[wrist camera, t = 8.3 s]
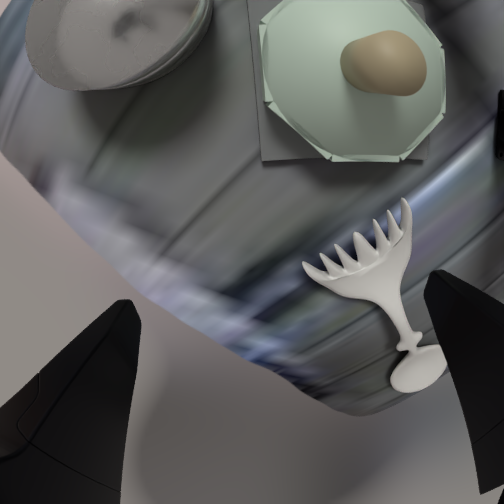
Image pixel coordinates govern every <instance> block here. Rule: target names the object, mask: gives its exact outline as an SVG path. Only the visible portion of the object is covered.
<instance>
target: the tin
mask: <svg viewBox="0 0 504 504" xmlns="http://www.w3.org/2000/svg"><path fill="white" fill-rule="evenodd" d="M212 12H213V0H34V2H33V5H32V7H31V10H30V13H29V16H28V20H27V25H26V34H25V42H26V50H27V55H28V58H29V61H30V63H31V65H32V67H33V68H34V70H35V72H36V73H37V74H38V75H39V76H40V77H41V78H42V79H43V80H44V81H46V82H47V83H49V84H51V85H53V86H54V87H57V88H61V89H64V90H71V91H85V90H105V89H118V88H126V87H133V86H138V85H142V84H145V83H149V82H151V81H154V80H156V79H158V78H160V77H162V76H164V75H166V74H168V73H169V72H171V71H172V70H174V69H175V68H177V67H178V66H179V65H180V64H181V63H183V62H184V61H185V60H186V59H187V58H188V57H189V56H190V55H191V54H192V53H193V52H194V51H195V49H196V48H197V47H198V45H199V44H200V43H201V41H202V39H203V38H204V36H205V34H206V32H207V30H208V28H209V25H210V22H211V18H212Z"/></svg>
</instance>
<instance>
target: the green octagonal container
mask: <svg viewBox="0 0 504 504" xmlns="http://www.w3.org/2000/svg"><path fill="white" fill-rule="evenodd" d="M257 41H258V51H259V62H260V73H261V85H262V97H263V101H265V102H267V103H266V104H265V105H266V106H267V107H268V108H270V109H271V110H272V111H273V112H274V113H276V114H277V115H278V116H279V117H280V118H281V119H283V120H284V121H285V122H286V123H287V124H288V125H290V126H291V127H292V128H293V129H294V130H295V131H296V132H297V133H299V134H300V135H301V136H302V137H303V138H304V139H305V140H306V141H307V142H308V143H310V144H311V145H312V146H313V147H314V148H315V149H316V150H317V151H318V152H319V153H320V154H321V155H323V156H324V157H325V158H326V159H327V160H328V159H330V160H331V161H332V162H346V161H371V162H399V159H401V160H404V159H405V158H406V157H407V156H408V155H409V154H410V153H411V152H412V151H413V150H414V149H415V147H416V146H417V145H418V144H419V143H420V142H421V141H422V140H423V139H424V138H425V137H426V136H427V135H428V134H429V133H430V132H431V131H432V129H433V128H434V127H435V126H436V125H437V124H438V123H439V122H440V121H441V120H442V119H443V118H444V117H443V115H442V113H445V105H446V81H445V58H444V49H441V48H440V47H441V46H442V44H441V43H440V41H439V40H438V39H437V37H436V36H435V35H434V33H433V32H432V31H431V30H430V28H429V27H428V26H427V25H426V23H425V22H424V21H423V20H422V19H421V17H420V16H419V15H418V14H417V13H416V12H415V10H414V9H413V8H412V7H411V6H410V5H409V4H408V3H407V2H406V0H283V1H282V2H280V3H279V4H278V5H277V6H276V7H275V8H273V9H272V10H271V11H270V12H269V13H268V14H267V15H266V16H265V17H263V18H262V19H261V20H260V24H259V26H258V29H257Z"/></svg>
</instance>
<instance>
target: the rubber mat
mask: <svg viewBox="0 0 504 504" xmlns="http://www.w3.org/2000/svg"><path fill="white" fill-rule="evenodd" d="M282 1H283V0H247V7H248V17H249V27H250V37H251V47H252V58H253V68H254V79H255V91H256V102H257V114H258V126H259V139H260V152H261V160H262V161H270V160H285V159H305V158H325V157H324V156H323V155H321V154H320V153H319V152H318V151H317V150H316V149H315V148H314V147H313V146H312V145H311V144H310V143H308V142H307V141H306V140H305V139H304V138H303V137H302V136H301V135H300V134H299V133H297V132H296V131H295V130H294V129H293V128H292V127H291V126H290V125H288V124H287V123H286V122H285V121H284V120H283V119H281V118H280V117H279V116H278V115H277V114H276V113H274V112H273V111H272V110H271V109H270V108H268V107H267V106H266V105H265V104H266V103H267V102H265V101H263V97H262V85H261V73H260V62H259V51H258V41H257V29H258V26H259V24H260V20H261V19H262V18H263V17H265V16H266V15H267V14H268V13H269V12H270V11H271V10H272V9H273V8H275V7H276V6H277V5H278V4H279V3H280V2H282ZM406 2H407V3H408V4H409V5H410V6H411V7H412V8H413V9H414V10H415V12H416V13H417V14H418V15H419V16H420V17H421V19H422V20H423V21H424V22H425V23H426V21H425V14H424V8H423V5H421V4H418V3H415V2H412V1H409V0H406ZM428 143H429V134H428V135H427V136H426V137H425V138H424V139H423V140H422V141H421V142H420V143H419V144H418V145H417V146H416V147H415V149H414V150H413V151H412V152H411V153H410V154H409V155H408V156H407V157H406V158H405V159H421V160H427V155H428Z"/></svg>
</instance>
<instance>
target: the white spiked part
mask: <svg viewBox="0 0 504 504" xmlns="http://www.w3.org/2000/svg"><path fill="white" fill-rule="evenodd" d="M372 222H373V228H374V233H375V238H376V249H374V248H373V247H372V246H371V245H370V244H369V243H368V241H367V240H366V239H365V238H364V237H363V236H362V235H361V234H360V233H358V232H354V233H353V242H354V246H355V249H356V253H357V257H358V261H356V260H353V259H352V258H351V257H350V256H349V255H348V254H347V253H346V252H345V251H344V250H343V249H342V248H341V247H340V246H338V245H337V244H334V247H335V250H336V252H337V254H338V256H339V258H340V260H341V262H342V264H343V266H339V265H338V264H336V263H334V262H333V261H332V260H330V259H329V258H328V257H327V256H325V255H324V254H322V253H320V257H321V259H322V261H323V263H324V264H325V266H326V268H327V270H328V271H321V270H319V269H317V268H315V267H313V266H312V265H310V264H308V263H306V262H302V265H303V268H304V270H305V271H306V273H307V274H308V275H309V276H310V277H311V278H312V279H313V280H315V281H316V282H318V283H319V284H321V285H323V286H325V287H327V288H328V289H330V290H332V291H333V292H335V293H337V294H339V295H341V296H344V297H348V298H357V299H365V300H369V301H372V302H375V303H376V304H378V305H379V306H380V307H381V308H383V310H384V311H385V312H386V313H387V314H388V316H389V317H390V318H391V320H392V321H393V323H394V325H395V326H396V328H397V330H398V332H399V334H400V341H399V343H398V344H397V346H396V348H397V350H398V351H404V350H409V352H408V354H407V355H406V356H405V357H404V358H403V359H402V360H401V362H400V363H399V364H398V365H397V366H396V368H395V369H394V371H393V372H392V375H391V378H390V382H391V385H392V387H393V388H394V389H395V390H397V391H399V392H406V393H410V392H415V391H419V390H422V389H424V388H426V387H428V386H429V385H431V384H432V383H433V382H435V381H436V380H437V379H438V378H439V377H440V376H441V374H442V373H443V371H444V370H445V368H446V366H447V362H446V359H445V357H444V354H443V352H442V349H441V347H440V345H438V344H434V345H427V346H422V347H416V345H417V343H418V342H419V341H420V340H421V338H422V332H420V331H418V332H414V331H412V329H411V327H410V325H409V323H408V320H407V318H406V315H405V312H404V309H403V305H402V302H401V297H400V284H401V279H402V276H403V274H404V271H405V269H406V266H407V264H408V261H409V259H410V256H411V250H412V213H411V209H410V206H409V204H408V203H407V201H406V200H405V199H404V198H401V222H400V224H399V226H398V225H397V223H396V221H395V219H394V217H393V216H392V214H391V212H390V211H389V210H387V222H388V237H387V238H386V237H385V235H384V233H383V231H382V230H381V228H380V226H379V224H378V223H377V221H376V220H375V219H373V221H372Z"/></svg>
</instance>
